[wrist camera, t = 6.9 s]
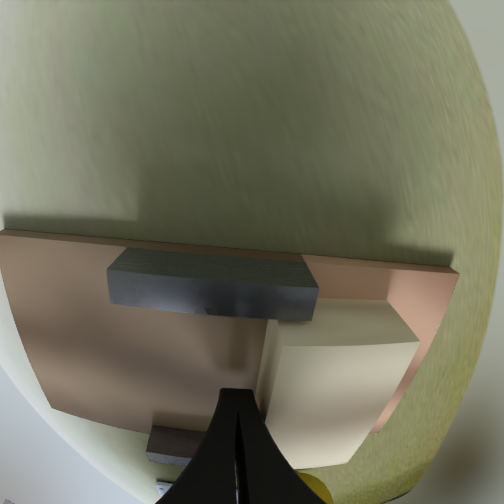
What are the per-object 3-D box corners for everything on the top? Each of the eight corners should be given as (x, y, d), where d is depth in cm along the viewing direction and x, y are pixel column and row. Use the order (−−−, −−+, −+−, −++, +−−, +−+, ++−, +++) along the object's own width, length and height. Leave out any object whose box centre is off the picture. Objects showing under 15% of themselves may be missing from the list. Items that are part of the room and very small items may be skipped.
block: (334, 422, 14) (346, 462, 11) (249, 425, 14) (252, 470, 11) (386, 299, 11) (420, 341, 8) (271, 295, 11) (282, 346, 8)
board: (374, 424, 16) (378, 432, 15) (56, 399, 14) (51, 407, 13) (450, 267, 12) (459, 274, 11) (4, 229, 10) (-6, 234, 9)
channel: (262, 443, 15) (264, 470, 13) (154, 434, 14) (149, 460, 12) (305, 262, 10) (319, 288, 9) (127, 247, 10) (106, 269, 8)
